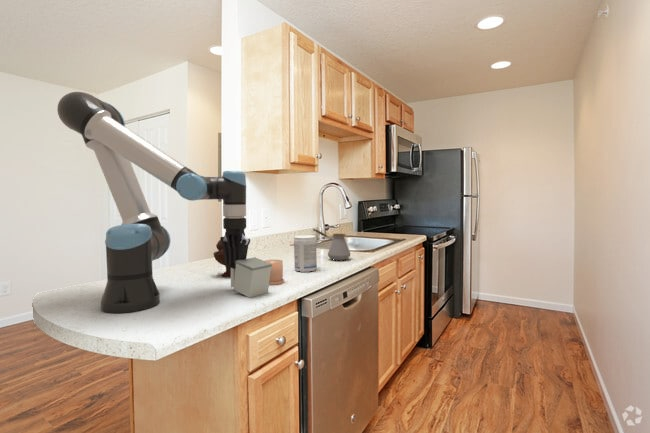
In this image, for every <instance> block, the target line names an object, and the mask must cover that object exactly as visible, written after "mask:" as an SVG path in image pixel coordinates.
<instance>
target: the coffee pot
mask: <svg viewBox="0 0 650 433" xmlns="http://www.w3.org/2000/svg"><path fill="white" fill-rule="evenodd" d="M314 232H315V233H318V234H319V235H322V236H323V237H326V238H327V239H330V240H331V241H332V242H331V245H330V246H329V247H330V248H329V250H328V252H327V256H328V258H330V259H334V260H345V259H347V260H348V259H349V258H350V257H351V251H350V249H349V247H348V244H347V242H346V239H345V236H346V233H332V236H333V237H331V236H330V235H329V236H328V235H327V234H326V233H324V232H322V231H320V230H318V229H315V228H313V229H312V233H314ZM334 260H333V261H334ZM345 261H346V260H345Z"/></svg>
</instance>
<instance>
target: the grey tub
mask: <svg viewBox="0 0 650 433" xmlns="http://www.w3.org/2000/svg"><path fill="white" fill-rule="evenodd" d="M235 263H236V268H235V278H234V288H233V287H232V289H233V290H234V291H236V292H238V293H240V294H242V295H244V296H245V297H247V298H252V297H253V298H254V297H256V296H260V295H263V294H267V293H269V286H270V285H269V280H270V271H271V267H272V264H270V263H268V262H265V260H263V259H260V258H259V257H256V256H255V257H249V258H246V259H243V260H237V261H236V262H235Z"/></svg>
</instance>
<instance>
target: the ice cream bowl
mask: <svg viewBox="0 0 650 433" xmlns="http://www.w3.org/2000/svg"><path fill="white" fill-rule="evenodd" d="M215 248H216V249H217V251H214V252H213V253H212V254H213V257H214V259H215V261H217V262H218V264H220V265H223V266H225V271H224V272H223V273H221V275H220V277H223V278H231V276H230V267H229V266H228V265H226V264H225V258H224V252H223V246H222V242H221V240H220V239H219V240H218V241H217V243H216V247H215Z"/></svg>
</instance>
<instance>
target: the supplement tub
mask: <svg viewBox="0 0 650 433" xmlns="http://www.w3.org/2000/svg"><path fill="white" fill-rule="evenodd" d="M293 251H294V252H293V253H294V255H293V257H294V258H293V259H294V260H293V261H294V270H295V271H296V272H298V271H300V272H301V273H307V272H308V273H310V271H312V272H315V271H316V270H317V268H318V265H317V264H318V260H317V238H316V235H311V234H310V235H309V234H307V235H306V234H305V235H302V234H301V235H295V236H294V237H293Z"/></svg>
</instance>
